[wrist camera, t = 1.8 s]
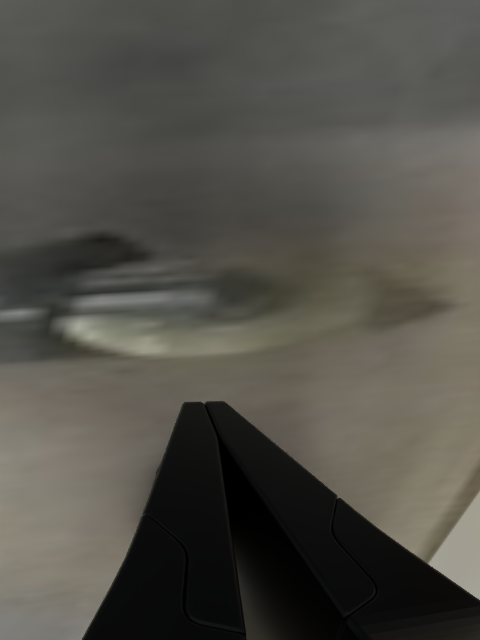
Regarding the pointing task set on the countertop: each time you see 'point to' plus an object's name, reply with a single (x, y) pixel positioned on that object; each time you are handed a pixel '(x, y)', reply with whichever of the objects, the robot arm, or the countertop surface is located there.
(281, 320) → the countertop surface
